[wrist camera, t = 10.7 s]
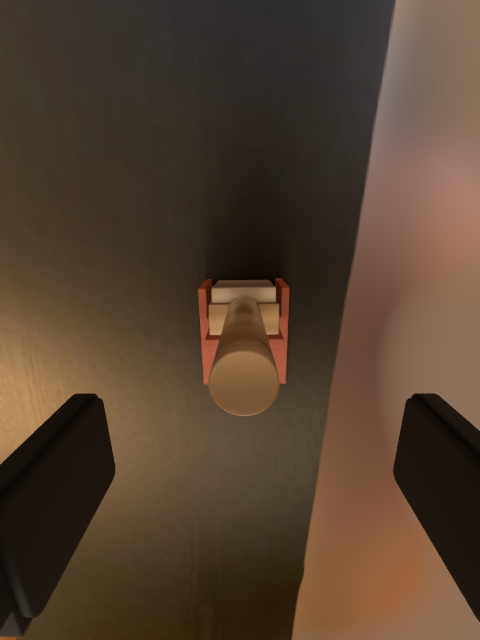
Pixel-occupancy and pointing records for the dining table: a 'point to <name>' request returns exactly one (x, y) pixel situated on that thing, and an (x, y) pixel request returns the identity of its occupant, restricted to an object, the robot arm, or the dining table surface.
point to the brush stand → (276, 340)
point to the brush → (243, 345)
